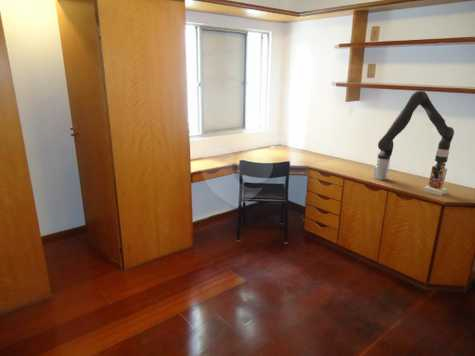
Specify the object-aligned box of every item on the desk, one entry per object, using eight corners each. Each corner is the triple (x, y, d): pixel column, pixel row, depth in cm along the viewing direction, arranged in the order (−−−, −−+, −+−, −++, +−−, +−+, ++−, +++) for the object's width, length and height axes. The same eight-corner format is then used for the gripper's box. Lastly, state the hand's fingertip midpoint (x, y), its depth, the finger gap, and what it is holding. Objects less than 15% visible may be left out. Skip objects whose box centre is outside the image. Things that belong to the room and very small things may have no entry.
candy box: (427, 186, 252) (431, 166, 248) (430, 185, 254) (434, 165, 250) (439, 189, 245) (444, 169, 241) (442, 188, 248) (447, 168, 243)
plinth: (422, 190, 252) (423, 186, 251) (429, 188, 258) (429, 184, 257) (440, 195, 243) (441, 191, 242) (445, 192, 249) (446, 188, 248)
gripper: (440, 152, 250) (436, 175, 255) (432, 155, 241) (427, 178, 246) (451, 155, 244) (446, 177, 249) (443, 157, 236) (438, 181, 241)
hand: (437, 177), depth 248 cm, fingers closed on candy box, 4 cm apart
